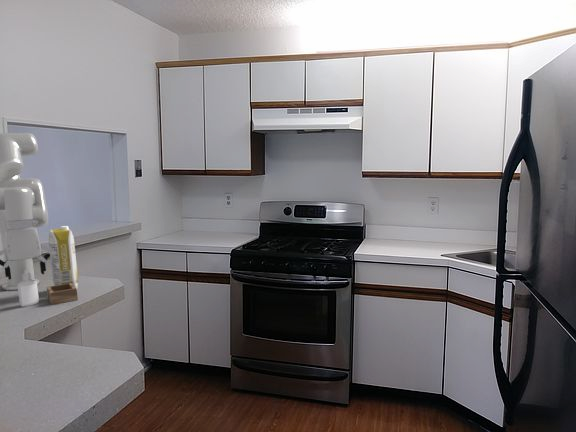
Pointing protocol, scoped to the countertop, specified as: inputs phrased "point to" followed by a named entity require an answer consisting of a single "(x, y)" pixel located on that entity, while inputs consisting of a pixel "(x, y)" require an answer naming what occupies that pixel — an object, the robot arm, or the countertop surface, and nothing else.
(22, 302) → the eye dropper bottle
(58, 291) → the bottle holder
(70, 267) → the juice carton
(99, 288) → the countertop surface
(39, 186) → the robot arm
